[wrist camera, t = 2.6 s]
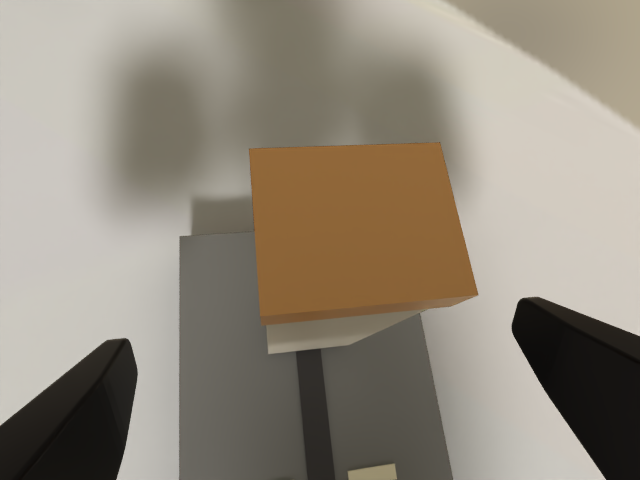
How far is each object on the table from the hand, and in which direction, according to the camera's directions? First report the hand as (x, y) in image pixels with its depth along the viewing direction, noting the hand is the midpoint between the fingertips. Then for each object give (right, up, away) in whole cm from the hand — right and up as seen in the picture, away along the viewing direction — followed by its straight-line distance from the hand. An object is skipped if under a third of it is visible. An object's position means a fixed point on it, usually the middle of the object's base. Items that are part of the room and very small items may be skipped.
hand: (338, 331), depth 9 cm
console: (-1, -6, +8) cm, 10 cm away
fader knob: (-1, -1, +7) cm, 7 cm away
